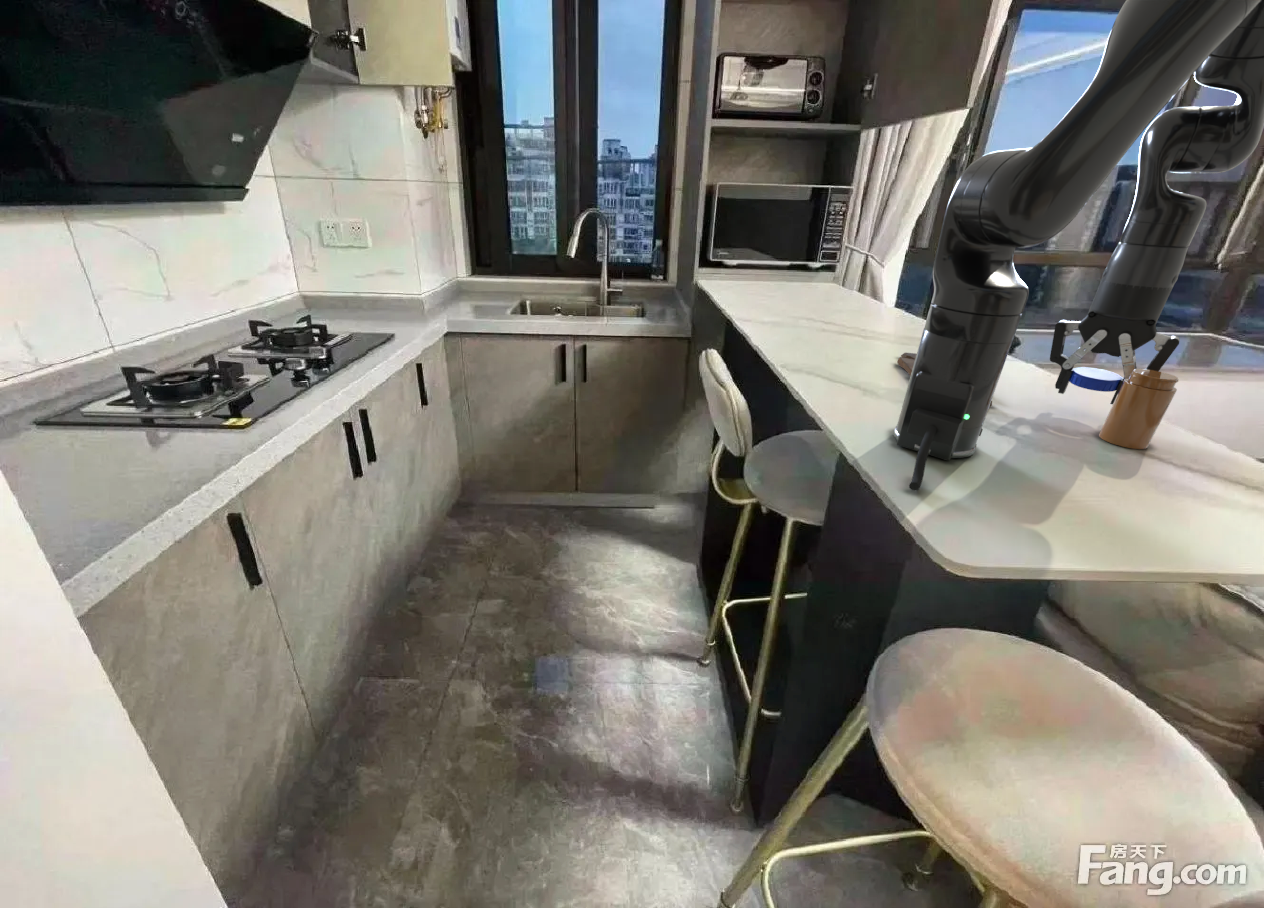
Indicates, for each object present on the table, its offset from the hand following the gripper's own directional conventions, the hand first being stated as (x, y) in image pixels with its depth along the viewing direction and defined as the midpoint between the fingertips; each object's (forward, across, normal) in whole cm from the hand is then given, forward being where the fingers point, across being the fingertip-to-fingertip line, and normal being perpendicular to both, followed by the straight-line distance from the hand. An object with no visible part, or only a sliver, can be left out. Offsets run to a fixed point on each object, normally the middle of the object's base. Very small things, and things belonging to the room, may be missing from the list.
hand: (1086, 397), depth 81 cm
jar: (+3, -6, +8) cm, 10 cm away
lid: (-3, 0, 0) cm, 3 cm away
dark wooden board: (+3, +20, -1) cm, 21 cm away
